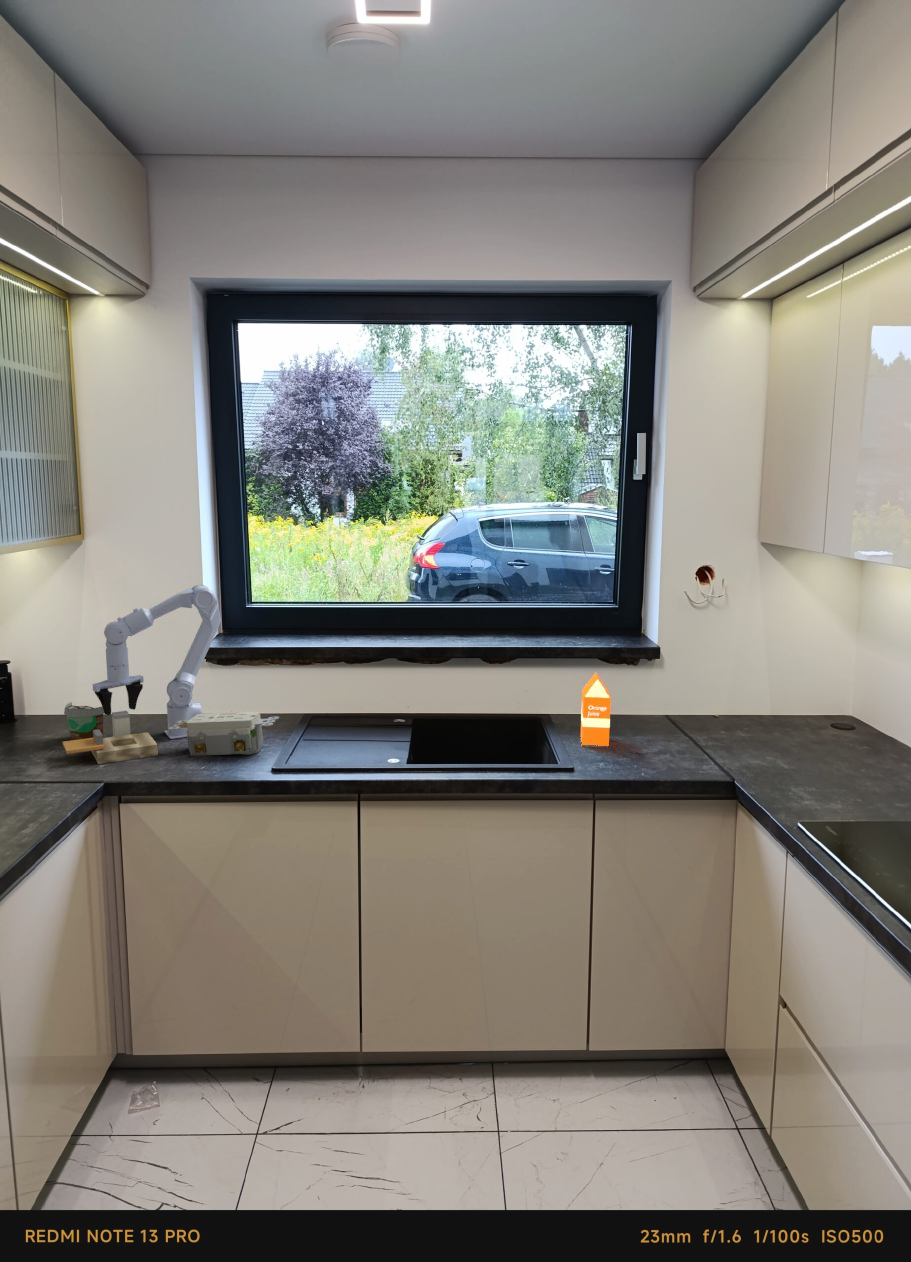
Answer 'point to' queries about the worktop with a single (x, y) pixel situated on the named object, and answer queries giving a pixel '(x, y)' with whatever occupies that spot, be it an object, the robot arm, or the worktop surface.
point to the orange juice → (595, 713)
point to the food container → (83, 721)
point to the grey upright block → (121, 723)
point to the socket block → (126, 748)
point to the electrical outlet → (224, 733)
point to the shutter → (85, 743)
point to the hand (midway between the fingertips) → (120, 711)
